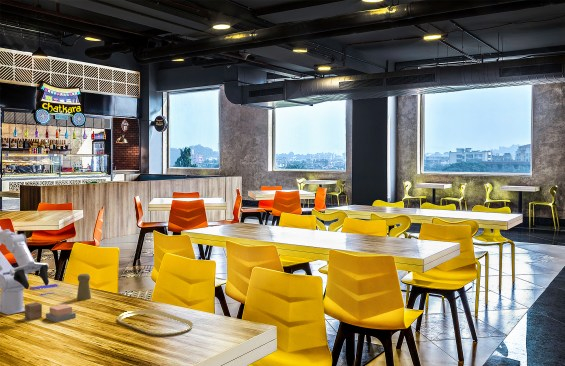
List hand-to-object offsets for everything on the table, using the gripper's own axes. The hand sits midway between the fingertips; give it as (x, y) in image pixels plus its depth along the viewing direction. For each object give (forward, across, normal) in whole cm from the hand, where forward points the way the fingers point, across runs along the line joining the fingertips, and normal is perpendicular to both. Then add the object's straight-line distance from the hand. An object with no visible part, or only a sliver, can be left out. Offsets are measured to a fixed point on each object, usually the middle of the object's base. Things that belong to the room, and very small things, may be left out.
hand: (37, 285), depth 207 cm
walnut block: (+6, 0, +13) cm, 14 cm away
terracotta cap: (+11, +7, +6) cm, 14 cm away
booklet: (-21, +26, +39) cm, 51 cm away
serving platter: (+38, +26, -14) cm, 48 cm away
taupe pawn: (-3, +29, +22) cm, 37 cm away
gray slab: (+12, +7, +8) cm, 16 cm away
